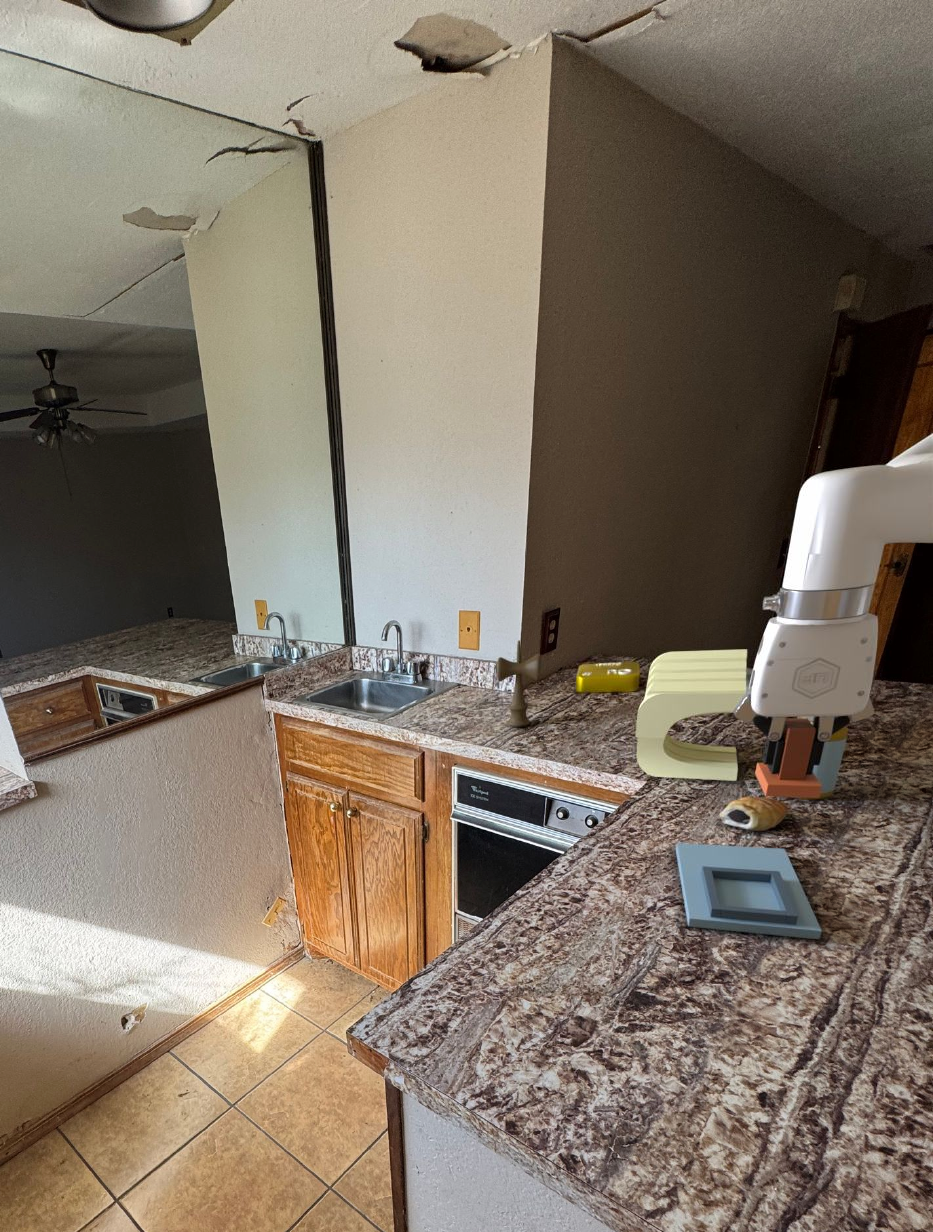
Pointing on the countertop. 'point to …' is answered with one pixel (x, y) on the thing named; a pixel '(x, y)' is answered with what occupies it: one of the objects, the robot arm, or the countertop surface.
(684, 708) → the slatted curved stool
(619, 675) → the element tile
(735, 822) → the pastry
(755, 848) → the back board
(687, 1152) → the countertop surface
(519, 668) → the kendama
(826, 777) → the bottle
